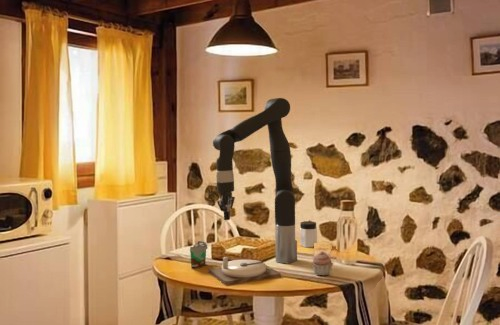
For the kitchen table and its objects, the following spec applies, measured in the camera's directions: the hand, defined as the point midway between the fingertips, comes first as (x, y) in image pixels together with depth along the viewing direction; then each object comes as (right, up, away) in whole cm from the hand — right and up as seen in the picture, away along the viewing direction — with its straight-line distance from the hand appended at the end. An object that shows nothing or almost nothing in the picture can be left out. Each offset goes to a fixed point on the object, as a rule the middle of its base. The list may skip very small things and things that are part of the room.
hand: (227, 219), depth 239 cm
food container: (-12, -22, +9) cm, 27 cm away
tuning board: (+7, -23, -6) cm, 25 cm away
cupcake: (+41, -23, -7) cm, 47 cm away
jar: (+40, -18, +44) cm, 62 cm away
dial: (+7, -21, -6) cm, 23 cm away
